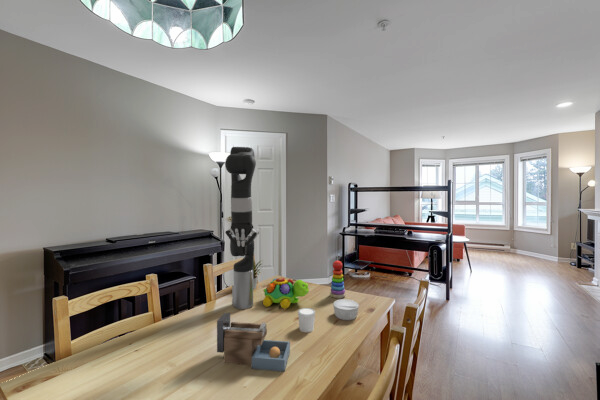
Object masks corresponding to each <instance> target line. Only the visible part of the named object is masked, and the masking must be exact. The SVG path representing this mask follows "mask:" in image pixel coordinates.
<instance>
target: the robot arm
mask: <svg viewBox="0 0 600 400" xmlns="http://www.w3.org/2000/svg"><path fill="white" fill-rule="evenodd" d="M229 153H230V154H228V156H227V157H226V159H225V162H224V163H225V164H224V165H225V170H226V171H227V173H229V174H231V175H230V177H231V179H230V181H231V186H230V190H231V191H230V215H231V216H230V218H231V221H230V222H231V224H230V228H228V229H227V230H225V234H226V236H227V237H228V239H229V240H230V241H229V242H230V243H229V249H230V254H231V256H232V257H243V258H242V259H241V260H239V261H237V262H235V263H234V264H233V285H231V286H232V287H231V289H232V290H231V291H232V293H231V297H232V300H231V303H232V306H233V308H235V309H236V310H237V309H238V310H247V309H250V308H252V307H253V306H254V289H253V264H254V261H255V239H256V238H257V237H258V235H259V234H260V231H258V230H256V229H254V225H253V201H252V181H253V177H254V172H255V170H256V166H257V163H256V157H255V151H254V149H253V148H252V147H247V146H246V147H245V146H232V147H231V149H230V152H229ZM241 175H245V177H244V178H243V179H242V177H241Z"/></svg>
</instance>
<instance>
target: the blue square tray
mask: <svg viewBox="0 0 600 400" xmlns="http://www.w3.org/2000/svg"><path fill="white" fill-rule="evenodd" d="M272 347H278V348H279V350H280V356H279V357H278V358H271V357H270V355H269V351H270V349H271V348H272ZM290 353H291V341H286V340H271V339H270V340H268V339H264V341H263V343H262V345H258V346H257V348H256V350H255V352H254V354H253V356H252V365H251V369H252V370H260V371H263V370H264V371H277V372H286V367H287V365H288V361H289V356H290Z"/></svg>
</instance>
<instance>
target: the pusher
mask: <svg viewBox="0 0 600 400" xmlns="http://www.w3.org/2000/svg"><path fill="white" fill-rule="evenodd" d="M260 324H261V326H260V329H254V328H238V327H231V312H224V313H223V314H222V315H221V316H220V317H219V318H218V319H217V321H216V352H217V353H223V354H224V337H225V330H240V331H256V332H262V337H263V335H264V333H265V324H266V322H261V323H260Z"/></svg>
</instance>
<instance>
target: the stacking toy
mask: <svg viewBox="0 0 600 400" xmlns="http://www.w3.org/2000/svg"><path fill="white" fill-rule="evenodd" d="M332 267H333V270H332V278H331V285H330V292H329V296H330V297H331V298H334V299H344V298H345V296H346V289H345V282H344V274H343V270H342V269H343V263H342V261H340V260H335V261H334V262H332Z"/></svg>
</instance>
